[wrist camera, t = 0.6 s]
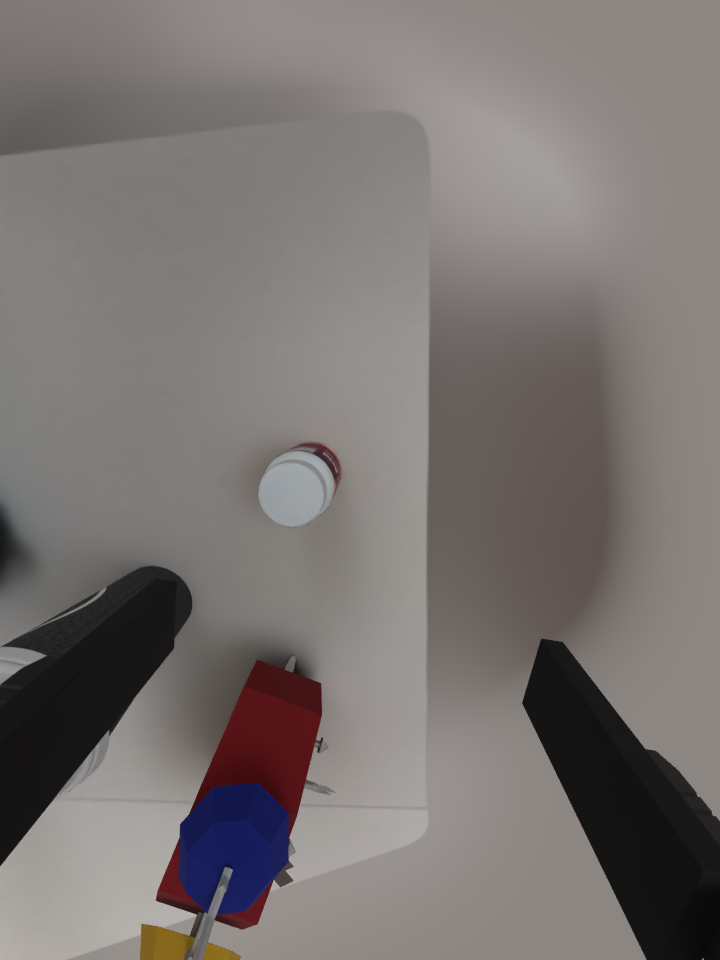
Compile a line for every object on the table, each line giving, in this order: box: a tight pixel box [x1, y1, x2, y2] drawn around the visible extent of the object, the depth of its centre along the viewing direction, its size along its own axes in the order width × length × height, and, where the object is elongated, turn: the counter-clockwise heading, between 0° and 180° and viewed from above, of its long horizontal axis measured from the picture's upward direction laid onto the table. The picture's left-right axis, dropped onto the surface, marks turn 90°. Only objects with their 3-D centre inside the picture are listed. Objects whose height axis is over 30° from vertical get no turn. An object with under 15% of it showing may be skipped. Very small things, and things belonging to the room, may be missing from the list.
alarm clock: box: [140, 656, 336, 960], centre depth 26 cm, size 15×9×20 cm, turn 158°
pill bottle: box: [258, 442, 342, 527], centre depth 26 cm, size 5×5×8 cm
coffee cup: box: [0, 566, 192, 800], centre depth 26 cm, size 10×10×15 cm
